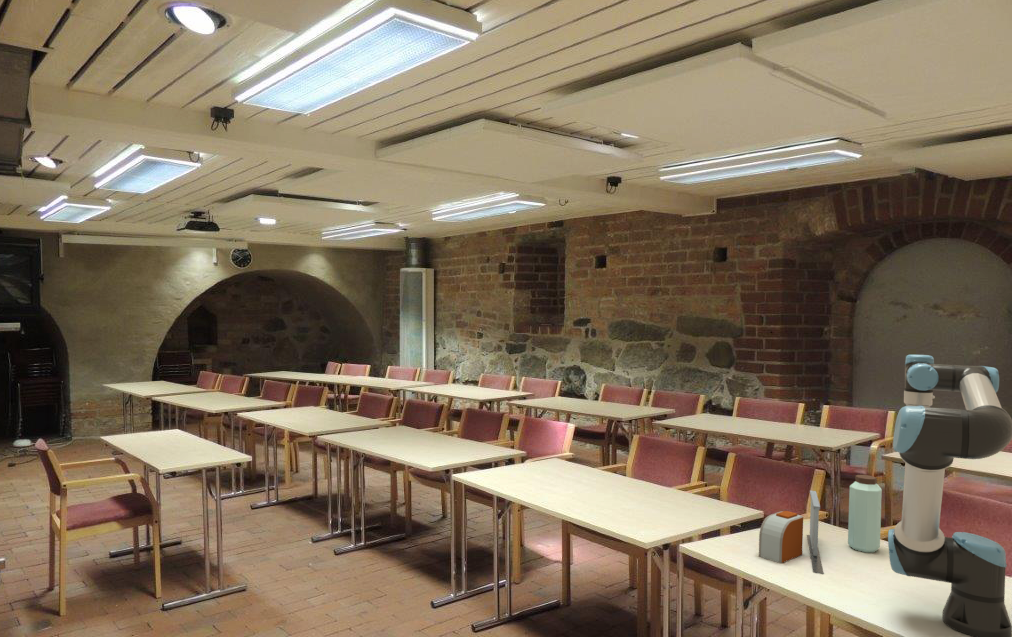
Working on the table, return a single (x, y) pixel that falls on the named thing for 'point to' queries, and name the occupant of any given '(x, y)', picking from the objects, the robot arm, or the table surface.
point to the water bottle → (864, 514)
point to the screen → (814, 521)
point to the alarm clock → (781, 536)
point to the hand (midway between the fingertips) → (915, 482)
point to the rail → (815, 559)
